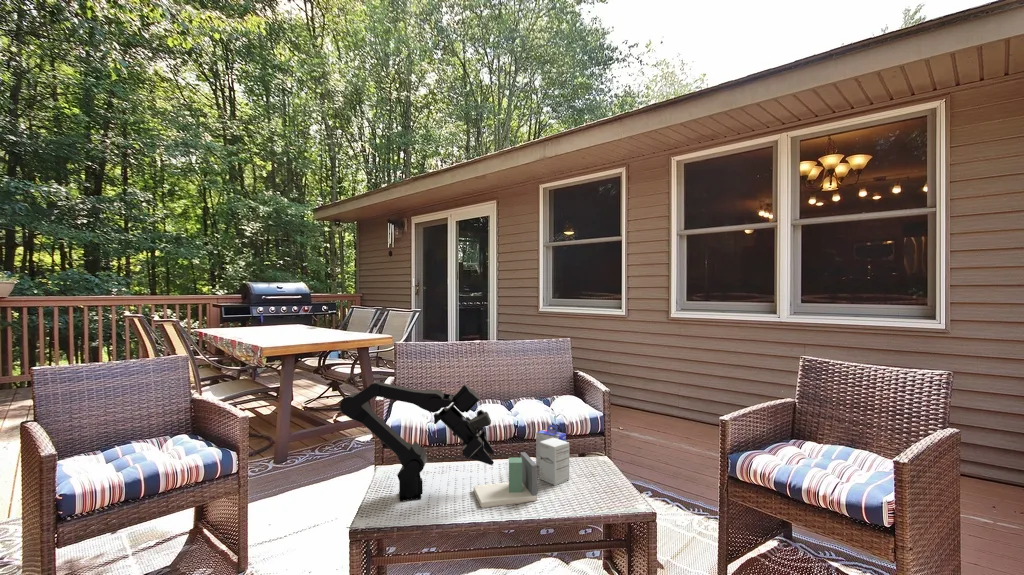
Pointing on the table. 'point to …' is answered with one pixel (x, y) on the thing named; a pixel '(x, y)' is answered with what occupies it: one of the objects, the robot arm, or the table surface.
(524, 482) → the shelf board
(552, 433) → the ink cartridge box
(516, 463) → the mint green square pillar
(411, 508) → the table surface
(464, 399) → the robot arm
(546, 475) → the supplement box
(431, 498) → the table surface
